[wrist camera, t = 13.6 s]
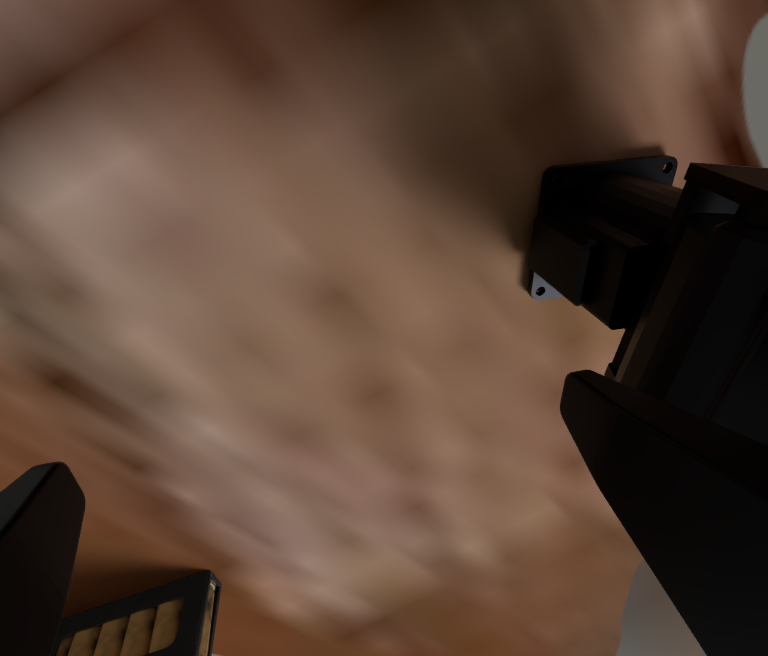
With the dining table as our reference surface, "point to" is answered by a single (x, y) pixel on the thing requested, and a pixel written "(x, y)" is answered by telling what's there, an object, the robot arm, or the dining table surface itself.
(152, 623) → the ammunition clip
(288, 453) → the dining table surface
